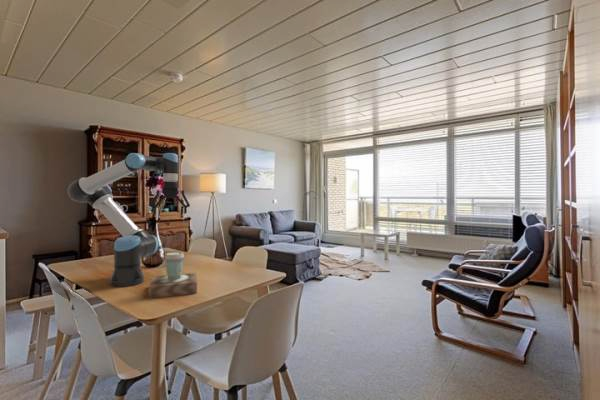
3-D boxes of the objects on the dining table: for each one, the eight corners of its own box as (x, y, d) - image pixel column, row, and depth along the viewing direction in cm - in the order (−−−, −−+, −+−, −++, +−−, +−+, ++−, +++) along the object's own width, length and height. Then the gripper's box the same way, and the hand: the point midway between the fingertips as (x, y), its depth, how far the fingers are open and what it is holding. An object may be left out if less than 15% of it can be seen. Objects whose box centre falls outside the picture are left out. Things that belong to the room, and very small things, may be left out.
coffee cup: (176, 281, 138) (177, 255, 137) (160, 280, 139) (160, 254, 139) (187, 276, 146) (187, 252, 146) (172, 275, 148) (172, 251, 147)
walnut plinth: (148, 297, 131) (148, 285, 131) (153, 286, 147) (153, 275, 147) (196, 293, 138) (196, 281, 138) (195, 282, 155) (195, 272, 155)
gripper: (194, 182, 172) (194, 218, 172) (146, 181, 163) (146, 219, 163) (194, 181, 165) (194, 219, 165) (144, 180, 156) (144, 220, 156)
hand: (170, 219), depth 164 cm, fingers open, 13 cm apart
